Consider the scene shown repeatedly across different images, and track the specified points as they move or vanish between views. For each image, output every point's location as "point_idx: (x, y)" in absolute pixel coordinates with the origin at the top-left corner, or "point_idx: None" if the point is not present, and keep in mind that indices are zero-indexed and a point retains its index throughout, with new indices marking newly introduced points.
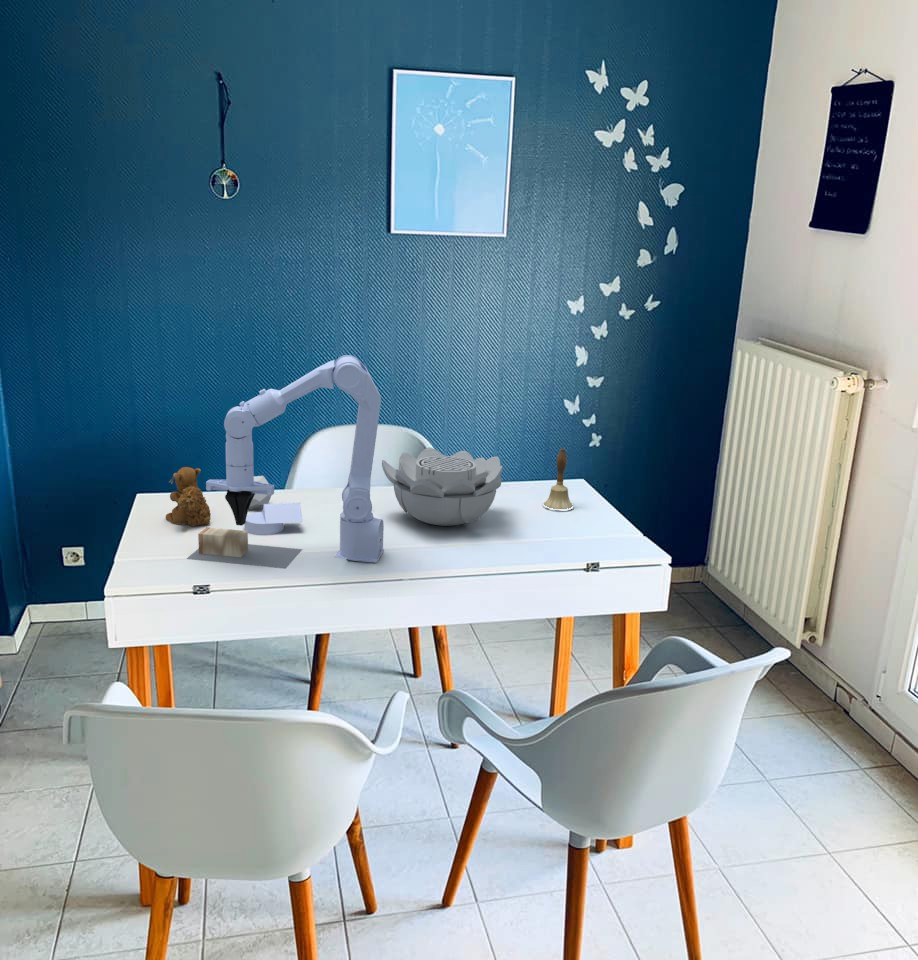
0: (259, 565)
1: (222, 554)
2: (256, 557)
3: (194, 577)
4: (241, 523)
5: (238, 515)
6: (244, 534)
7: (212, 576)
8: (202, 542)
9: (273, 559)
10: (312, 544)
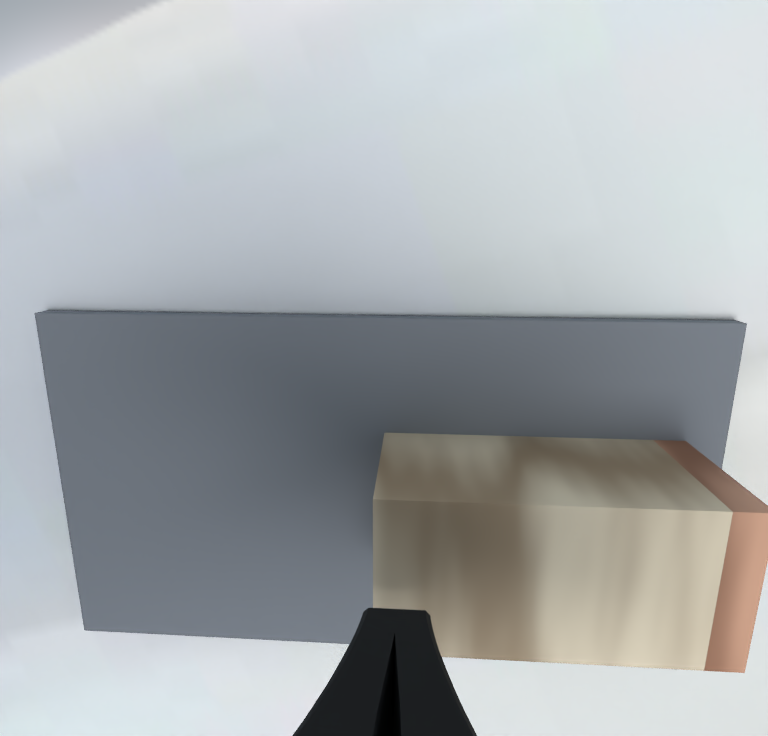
0: (212, 321)
1: (514, 438)
2: (286, 451)
3: (587, 30)
4: (366, 619)
5: (397, 697)
6: (373, 583)
7: (465, 88)
8: (696, 475)
9: (172, 441)
10: (93, 725)
